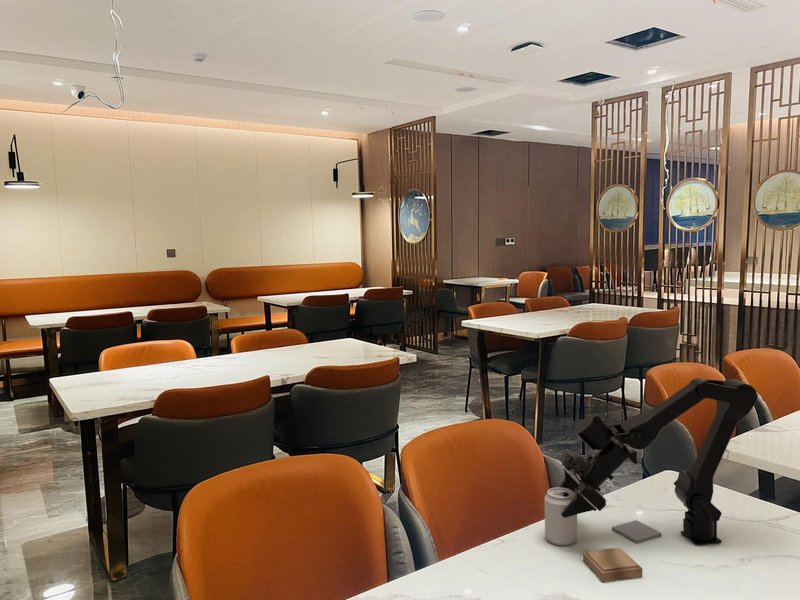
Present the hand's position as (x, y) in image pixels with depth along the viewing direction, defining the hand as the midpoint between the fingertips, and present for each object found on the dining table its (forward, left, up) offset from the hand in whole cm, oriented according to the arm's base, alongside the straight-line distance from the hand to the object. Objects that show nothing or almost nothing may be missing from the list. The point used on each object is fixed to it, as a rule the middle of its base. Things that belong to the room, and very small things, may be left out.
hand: (558, 507), depth 147 cm
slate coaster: (-19, +1, -8) cm, 21 cm away
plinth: (-5, +15, -8) cm, 18 cm away
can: (0, 0, -8) cm, 8 cm away
